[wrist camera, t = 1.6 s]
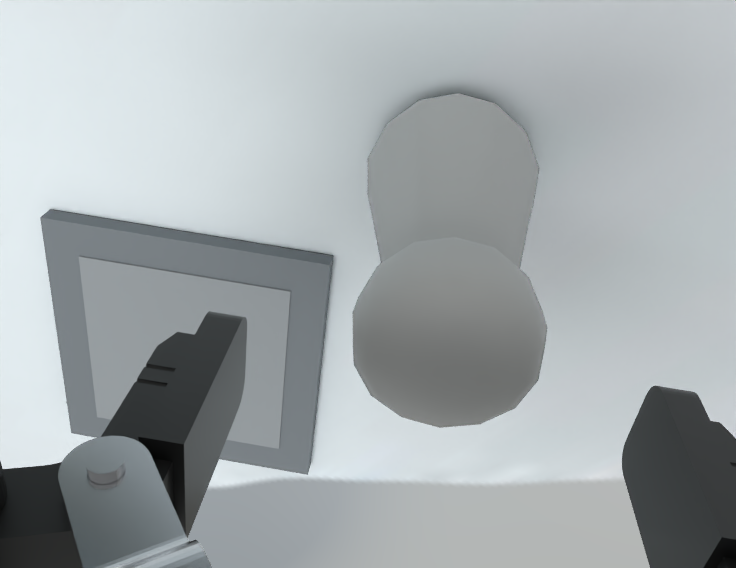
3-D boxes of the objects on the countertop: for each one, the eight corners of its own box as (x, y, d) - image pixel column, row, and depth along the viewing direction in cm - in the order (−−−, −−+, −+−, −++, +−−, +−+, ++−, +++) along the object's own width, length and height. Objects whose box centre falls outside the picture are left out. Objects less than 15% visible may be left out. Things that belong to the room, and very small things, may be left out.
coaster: (333, 255, 28) (329, 266, 27) (310, 462, 34) (307, 476, 34) (50, 209, 28) (39, 218, 28) (79, 422, 35) (70, 434, 34)
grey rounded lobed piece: (477, 250, 27) (488, 507, 16) (349, 184, 26) (267, 407, 15) (563, 124, 24) (651, 332, 13) (422, 46, 23) (387, 196, 12)
